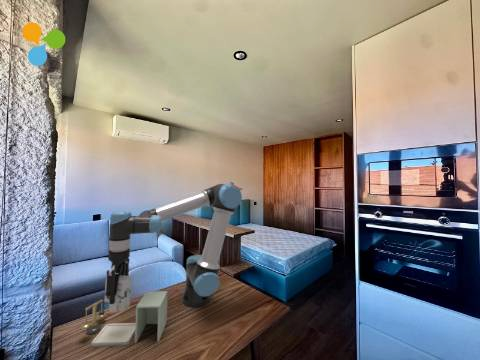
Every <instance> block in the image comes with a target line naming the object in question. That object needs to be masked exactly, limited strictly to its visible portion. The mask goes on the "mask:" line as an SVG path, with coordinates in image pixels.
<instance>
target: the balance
mask: <svg viewBox="0 0 480 360" xmlns="http://www.w3.org/2000/svg"><path fill="white" fill-rule="evenodd" d="M103 303H104V299H100V300H98V301H96V302H95V303H92V304H91V305H89V306H87V307H85V310H84V311H85V321H84V322H82V323H81V324H79V330H86V335H88V336H91V335H94V334H95V335H96V334H97V333H98V332H99V331H101V330H102V325H101V324H100V323H97V319H103V318H105V317H106V316H107V315H108V312H107V311H105V308H103ZM99 304H101V305H100V307H101V308H99V309H98V313H97V306H98V305H99ZM91 309H92V313H91V314H92V318H91V320H87V319H88V311H89V310H91ZM99 333H100V332H99Z"/></svg>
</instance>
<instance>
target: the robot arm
mask: <svg viewBox="0 0 480 360" xmlns="http://www.w3.org/2000/svg"><path fill="white" fill-rule="evenodd" d="M242 194H243V193H242V190H241V189H238V188H236V187H234V186H233V184H232V183H219V184H215V185H213V186H211V187H208V188H206V189H205V188H204V189H203V190H202V192H199V193H197V194H193V195H191V196H187V197H184V198H181V199H179V200H175V201H173V202H170V203H167V204H164V205H161V206H158V207H155V208H152V209H149V210H143V211H142V212H140V213H139V215H132V211H130V210H129V211H128V210H126V211H125V210H118V211H113V212H112V213H111V214H110V221H109V236H108V237H109V238H108V239H109V240H108V250H109V251H108V261H109V262H111V266H110V269H107V270H106V279H107V286H106V296H109V309H108V312H118V311H117V298H118V294H116V293H117V287H118V281H119V276H120V275H124V276H130V275H129V272H130V267H129V265H130V255H131V254H130V253H131V250H130V248H131V235H136V234H137V235H138V234H154V233H159V232H161V230H162V223H163V222H165V221H167V220H170V219H173V218H175V217H178V216H181V215H184V214H186V213H189V212H193V211H195V210H197V209H200V208H203V207H211V206H212V209H213V213H212V218H211V222H210V226H209V228H208V233H207V236H206V240H205V244H204V246H203V247H204V248H203V250H202V254H196V255H190V256H189V257H187V259H186V266H185V267H186V271H185V273H186V274H185V277H186V278H185V286H184V290H183V292H182V298H181V299H182V300H181V302H182V303H183V305H185V306H188V307H190V308H191V307H192V308H197V307H202V306H204V305H207V304H208V303H209V302H210V300H211V296H212V294H214V293H216V291H217V290H218V289H219V286H220V277H219V272H220V269H221V268H220V267H221V266H220V264H219V259H220V256H221V252H222V250H223V245H224V241H225V237H226V233H227V230H228V226H229V223H230V219H231V216H232V215H233V214H235V212H236V209H237V208H238V206H240V204H241V203H242V199H243V196H242Z"/></svg>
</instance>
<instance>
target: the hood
mask: <svg viewBox="0 0 480 360" xmlns="http://www.w3.org/2000/svg"><path fill="white" fill-rule="evenodd" d="M168 293H169V292H168V291H167V290H166V291H164V290H163V291H162V290H161V291H159V290H158V291H153V290H151V291H145V293H144V295H143V296H142V297H141V299H140V300H139V301H138V303H137V305H136V306H135V322H134V323H135V334H134V343H135V344H137V342H138V340H139V339H140V337H141V335H142V333H143V331H144V329H145V328H146V326H147V325H157V338H156V339H157V340H156V341H157V343H159V342H160V340H161V337H162V334H163V333H164V330H165V329H166V328H165V327H166V326H167V323H168V321H167V320H168V318H167V317H168Z"/></svg>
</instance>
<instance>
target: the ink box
mask: <svg viewBox="0 0 480 360" xmlns="http://www.w3.org/2000/svg"><path fill="white" fill-rule="evenodd" d="M104 283H105V284H104V299H103V303H104V304H103V309H107V310H109V296H106V286H107V278H106V279H105V282H104ZM131 288H132V277H131V276H130V275H129V276H124V275H120V276H119V281H118V287H117V293H116V294H118V298H117V311H116V312H123V311H124V310H126V309H127V308H128V307H129V306H130V305H131V292H132V291H131V290H132V289H131Z"/></svg>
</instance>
